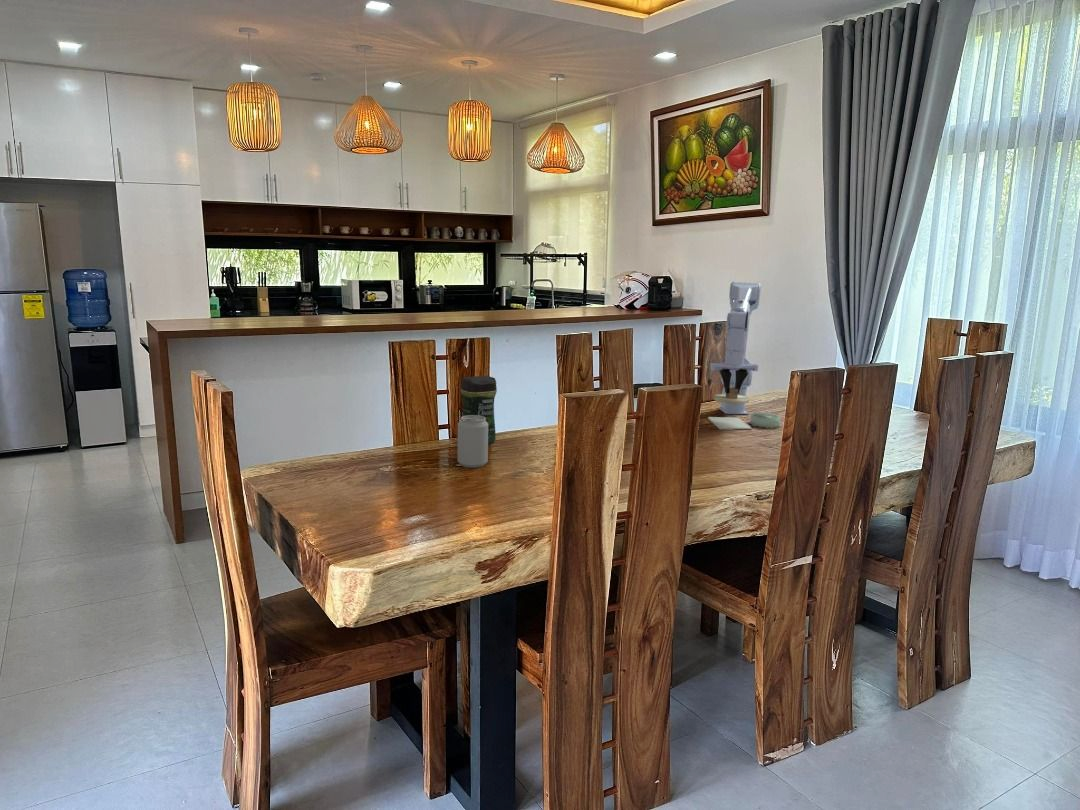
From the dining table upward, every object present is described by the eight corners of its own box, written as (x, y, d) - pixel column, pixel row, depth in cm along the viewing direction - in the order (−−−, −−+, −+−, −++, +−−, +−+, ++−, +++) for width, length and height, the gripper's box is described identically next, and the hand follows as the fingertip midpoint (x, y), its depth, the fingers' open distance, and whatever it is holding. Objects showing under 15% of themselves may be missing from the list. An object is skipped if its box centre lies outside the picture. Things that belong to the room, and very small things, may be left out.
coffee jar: (470, 448, 196) (470, 380, 192) (455, 441, 202) (455, 375, 198) (500, 443, 202) (501, 377, 198) (485, 437, 208) (486, 372, 204)
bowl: (746, 421, 237) (747, 412, 237) (773, 421, 238) (774, 412, 237) (755, 427, 228) (756, 418, 228) (783, 428, 229) (784, 419, 228)
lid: (709, 396, 236) (710, 384, 235) (742, 396, 237) (743, 385, 236) (718, 403, 225) (719, 390, 225) (754, 403, 226) (755, 391, 225)
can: (451, 463, 182) (451, 416, 179) (473, 458, 187) (474, 412, 184) (471, 470, 177) (471, 422, 174) (494, 464, 182) (494, 417, 180)
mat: (707, 418, 239) (707, 417, 239) (737, 419, 240) (738, 417, 239) (719, 429, 225) (720, 427, 225) (751, 429, 226) (752, 427, 226)
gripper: (716, 351, 223) (712, 395, 226) (762, 352, 224) (758, 396, 227) (709, 348, 230) (706, 390, 233) (755, 349, 231) (751, 391, 234)
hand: (731, 393), depth 230 cm, fingers closed on lid, 2 cm apart
